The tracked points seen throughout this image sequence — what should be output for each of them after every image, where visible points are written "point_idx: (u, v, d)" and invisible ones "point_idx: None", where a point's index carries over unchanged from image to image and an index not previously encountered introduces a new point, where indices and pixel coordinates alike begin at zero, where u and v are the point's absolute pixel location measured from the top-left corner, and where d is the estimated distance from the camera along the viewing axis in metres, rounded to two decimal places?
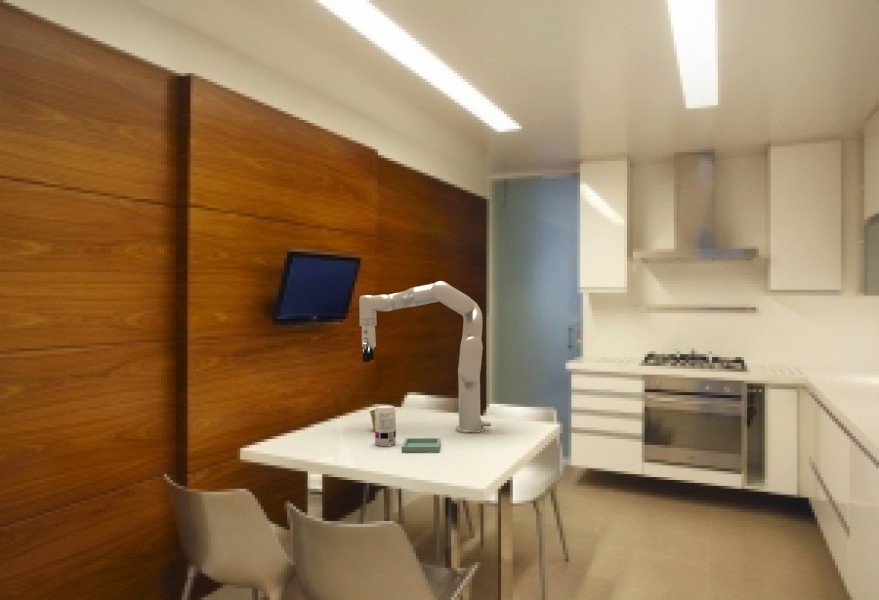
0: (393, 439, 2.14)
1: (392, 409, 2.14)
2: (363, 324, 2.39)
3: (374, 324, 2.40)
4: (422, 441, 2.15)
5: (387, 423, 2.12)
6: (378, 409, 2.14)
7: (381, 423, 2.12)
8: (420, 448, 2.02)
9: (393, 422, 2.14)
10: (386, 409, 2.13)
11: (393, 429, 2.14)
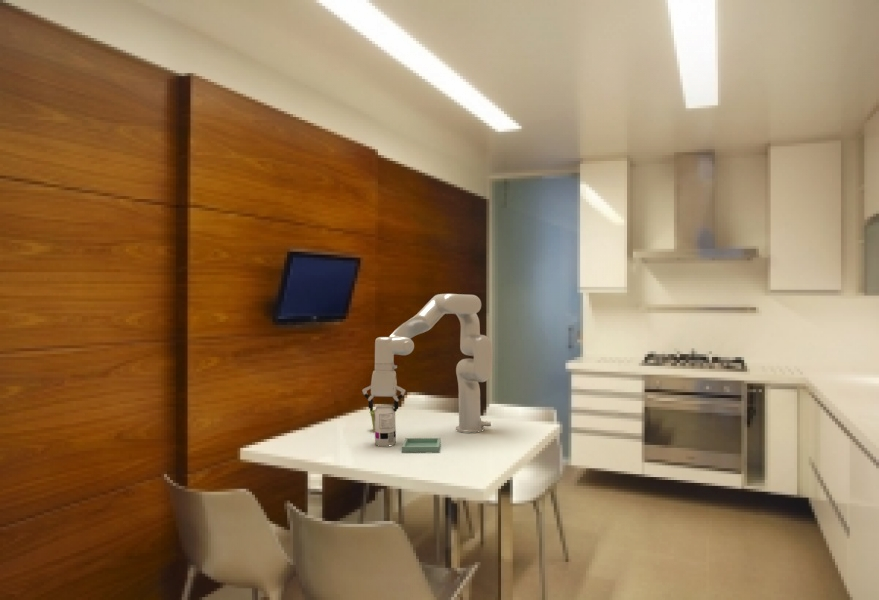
0: (393, 439, 2.14)
1: (392, 409, 2.14)
2: (392, 370, 2.15)
3: None
4: (422, 441, 2.15)
5: (386, 423, 2.12)
6: (378, 409, 2.14)
7: (381, 423, 2.12)
8: (420, 448, 2.02)
9: (393, 422, 2.14)
10: (386, 409, 2.13)
11: (393, 429, 2.14)
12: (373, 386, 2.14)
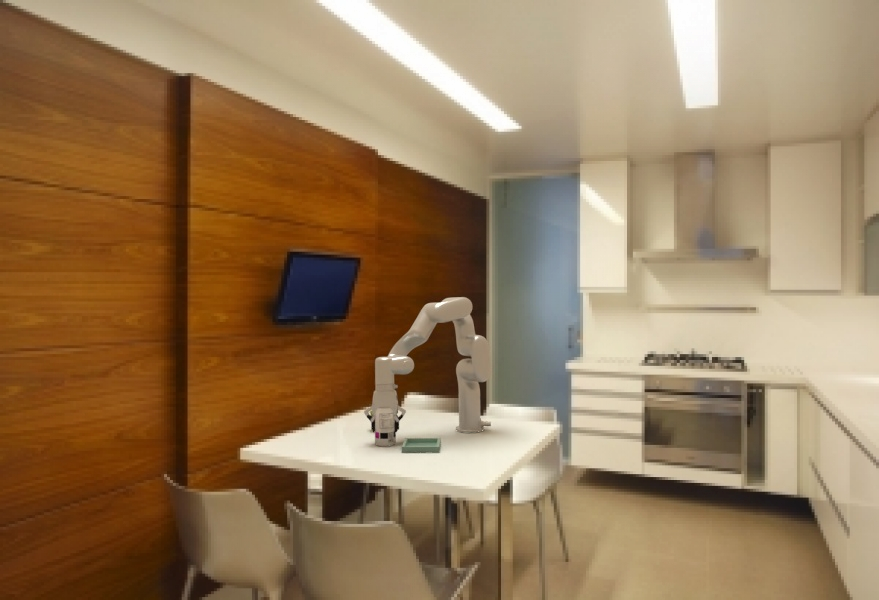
0: (393, 439, 2.14)
1: None
2: (392, 390, 2.15)
3: None
4: (422, 441, 2.15)
5: (387, 423, 2.12)
6: (378, 409, 2.14)
7: (381, 423, 2.12)
8: (420, 448, 2.02)
9: (393, 422, 2.14)
10: (386, 409, 2.13)
11: (393, 429, 2.14)
12: (374, 406, 2.14)
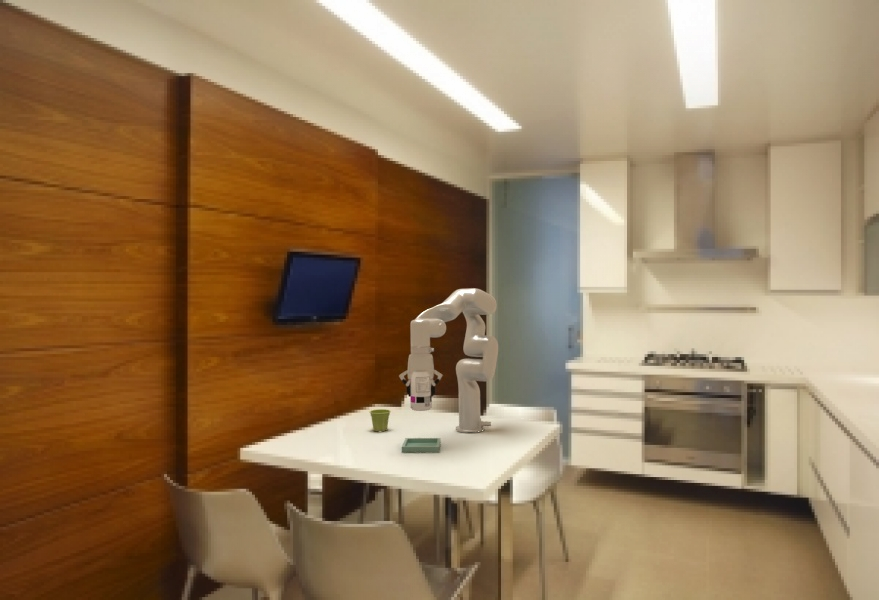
0: (429, 403, 2.08)
1: None
2: (429, 353, 2.09)
3: None
4: (422, 441, 2.15)
5: (423, 387, 2.06)
6: (414, 373, 2.07)
7: (417, 387, 2.06)
8: (420, 448, 2.02)
9: (429, 386, 2.08)
10: (422, 372, 2.07)
11: (429, 393, 2.08)
12: (410, 370, 2.08)
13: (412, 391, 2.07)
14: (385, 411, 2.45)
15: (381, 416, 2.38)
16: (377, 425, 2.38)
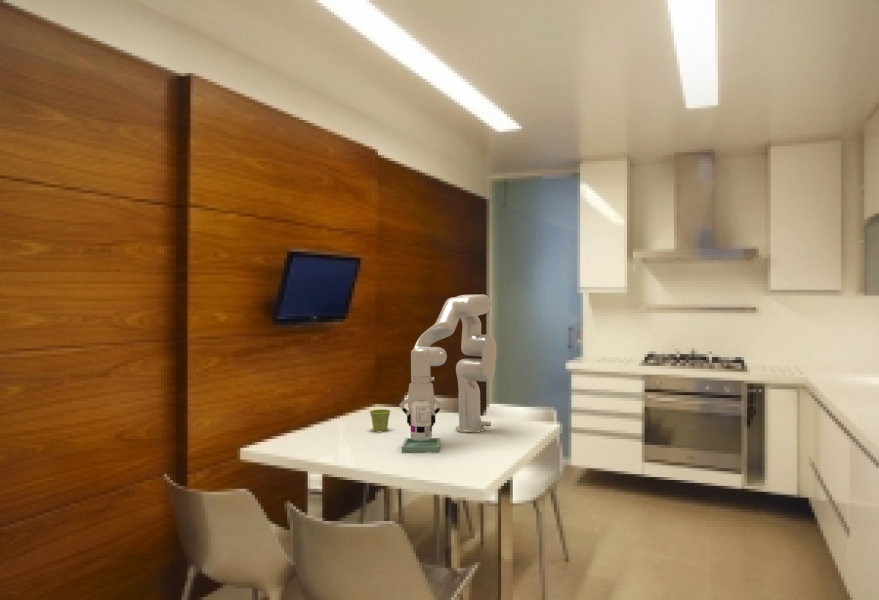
0: (429, 433, 2.07)
1: None
2: (429, 382, 2.08)
3: None
4: (422, 441, 2.15)
5: (423, 416, 2.06)
6: (414, 402, 2.07)
7: (418, 417, 2.06)
8: (420, 448, 2.02)
9: (429, 416, 2.07)
10: (423, 402, 2.06)
11: (429, 423, 2.07)
12: (410, 399, 2.08)
13: (412, 421, 2.07)
14: (385, 411, 2.45)
15: (381, 416, 2.38)
16: (377, 425, 2.38)
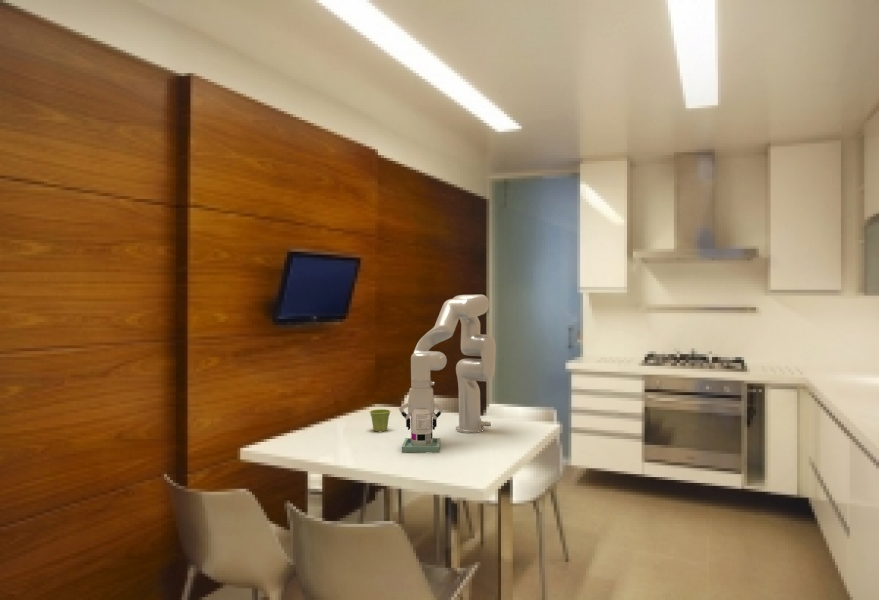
0: (430, 441, 2.07)
1: None
2: (429, 387, 2.08)
3: None
4: None
5: (424, 424, 2.06)
6: (415, 410, 2.07)
7: (418, 425, 2.06)
8: (420, 448, 2.02)
9: (430, 423, 2.08)
10: (423, 410, 2.06)
11: (430, 430, 2.08)
12: (411, 404, 2.08)
13: (413, 428, 2.07)
14: (385, 411, 2.45)
15: (381, 416, 2.38)
16: (377, 425, 2.38)
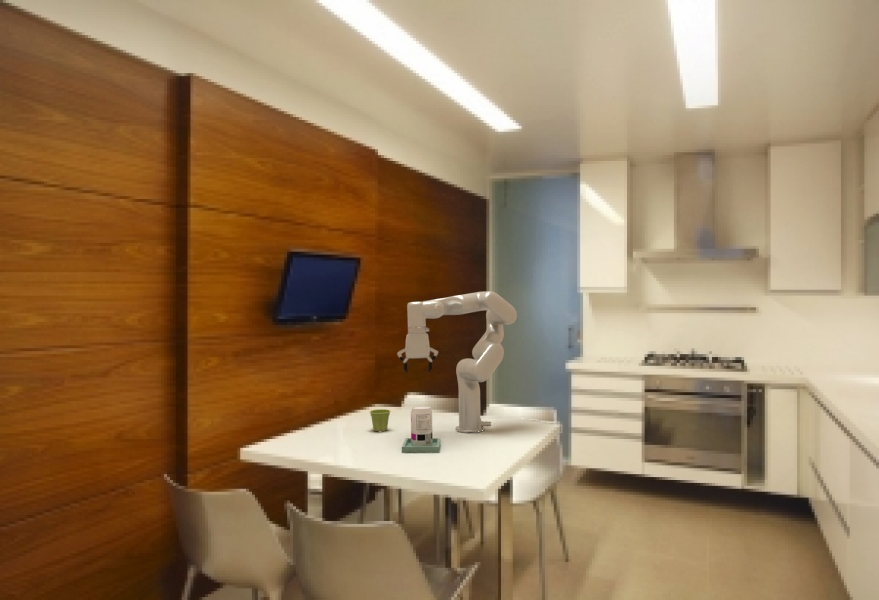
0: (430, 441, 2.07)
1: (429, 410, 2.08)
2: (425, 332, 2.26)
3: None
4: None
5: (424, 424, 2.06)
6: (415, 410, 2.07)
7: (418, 425, 2.06)
8: (420, 448, 2.02)
9: (430, 423, 2.08)
10: (423, 410, 2.06)
11: (430, 431, 2.08)
12: (408, 348, 2.25)
13: (413, 428, 2.07)
14: (385, 411, 2.45)
15: (381, 416, 2.38)
16: (377, 425, 2.38)
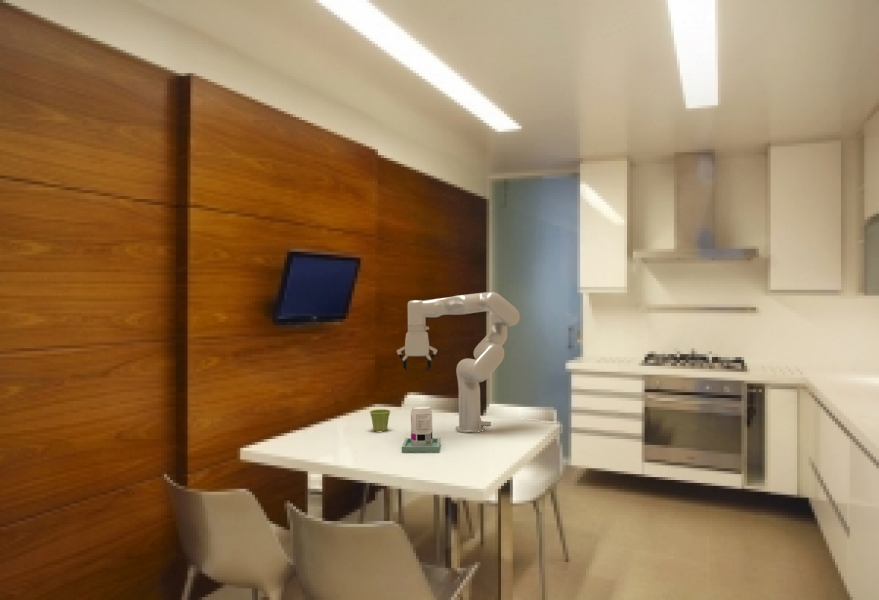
0: (430, 441, 2.07)
1: (429, 410, 2.08)
2: (424, 331, 2.28)
3: None
4: None
5: (424, 424, 2.06)
6: (415, 410, 2.07)
7: (418, 425, 2.06)
8: (420, 448, 2.02)
9: (430, 423, 2.08)
10: (423, 410, 2.06)
11: (430, 431, 2.08)
12: (407, 346, 2.27)
13: (413, 428, 2.07)
14: (385, 411, 2.45)
15: (381, 416, 2.38)
16: (377, 425, 2.38)
